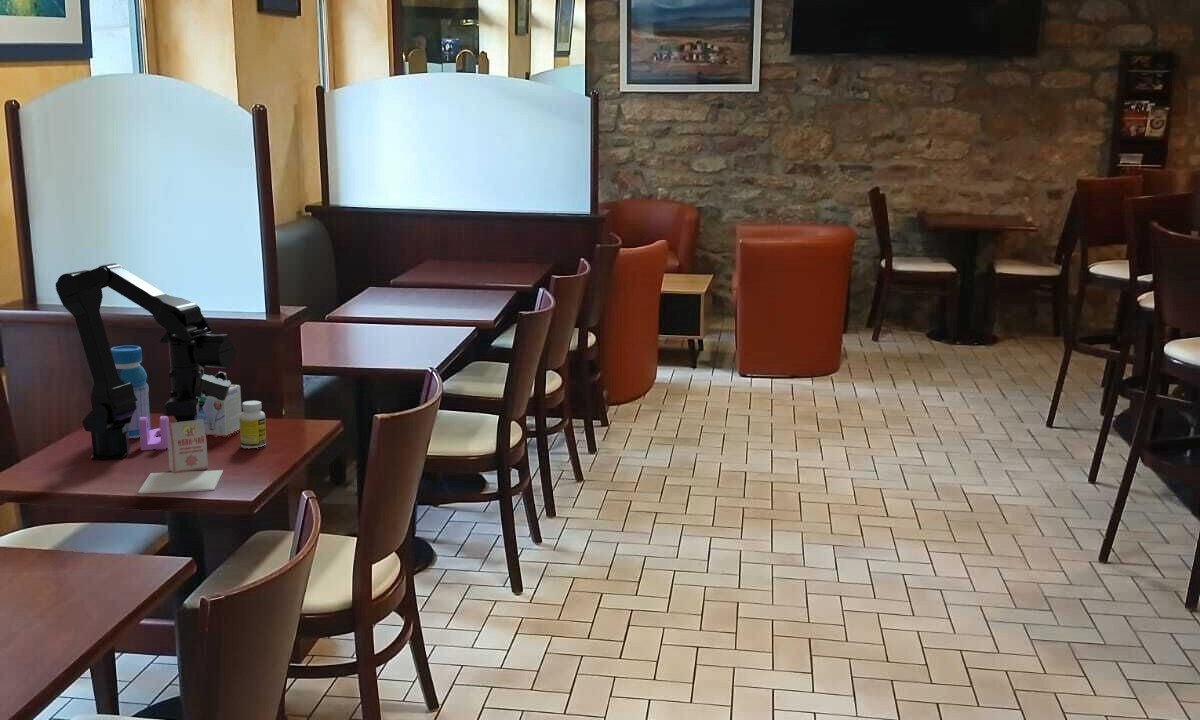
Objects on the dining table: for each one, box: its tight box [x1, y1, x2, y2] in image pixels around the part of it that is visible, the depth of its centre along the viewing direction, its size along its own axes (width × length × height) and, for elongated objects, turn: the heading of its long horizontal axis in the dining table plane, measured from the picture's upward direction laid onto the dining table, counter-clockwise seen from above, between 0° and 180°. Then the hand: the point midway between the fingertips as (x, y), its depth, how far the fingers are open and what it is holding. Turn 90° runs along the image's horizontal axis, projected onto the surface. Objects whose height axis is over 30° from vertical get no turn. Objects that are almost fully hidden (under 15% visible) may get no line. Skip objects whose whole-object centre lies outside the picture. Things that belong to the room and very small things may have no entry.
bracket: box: [139, 415, 170, 451], centre depth 253 cm, size 13×6×7 cm, turn 13°
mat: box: [137, 469, 224, 495], centre depth 226 cm, size 14×12×1 cm
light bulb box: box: [197, 384, 243, 435], centre depth 261 cm, size 11×7×11 cm, turn 73°
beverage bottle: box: [110, 345, 152, 439], centre depth 257 cm, size 8×8×20 cm
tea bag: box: [167, 419, 209, 473], centre depth 233 cm, size 4×7×10 cm, turn 122°
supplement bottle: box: [239, 400, 267, 450], centre depth 250 cm, size 5×5×10 cm
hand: (190, 438), depth 236 cm, fingers closed
